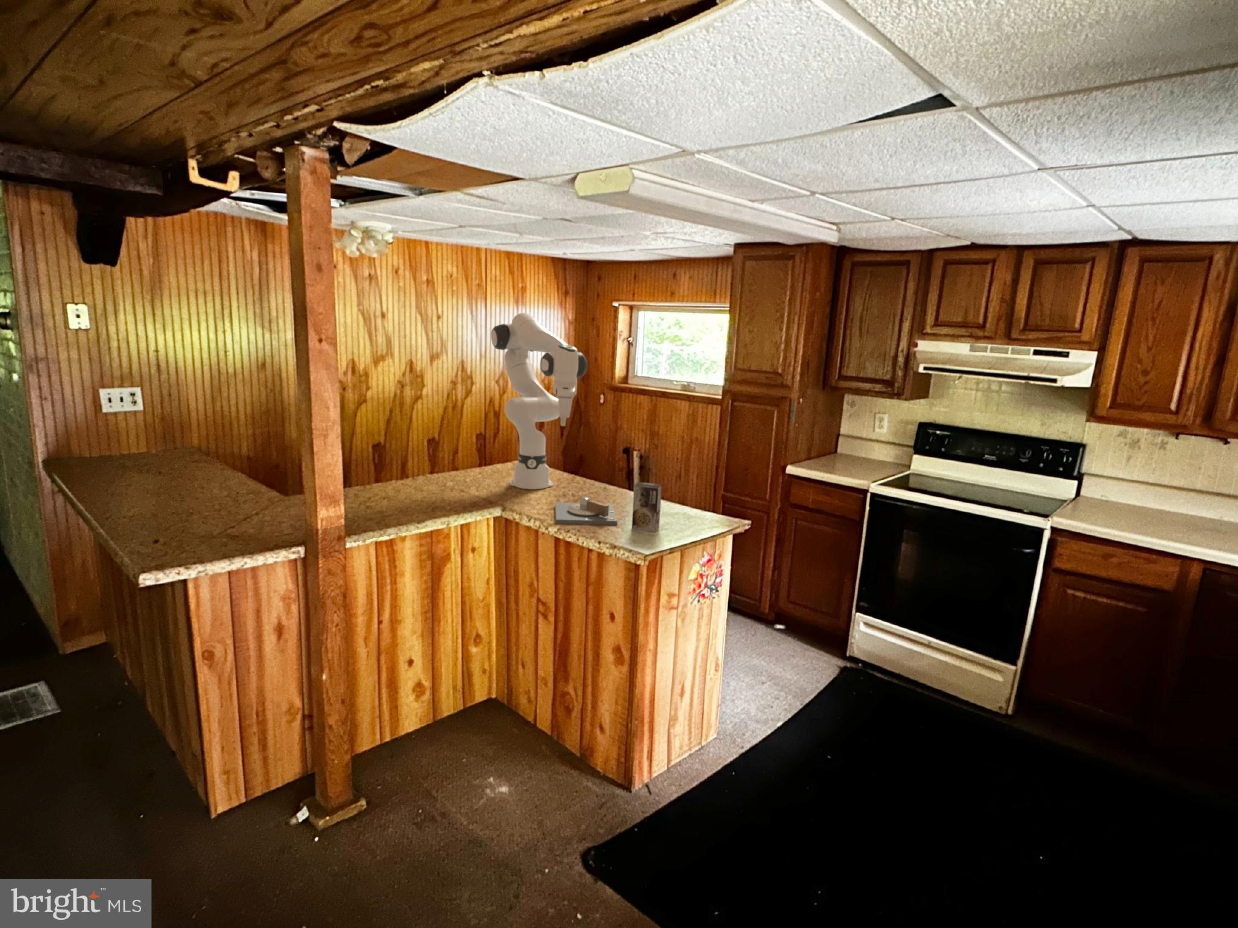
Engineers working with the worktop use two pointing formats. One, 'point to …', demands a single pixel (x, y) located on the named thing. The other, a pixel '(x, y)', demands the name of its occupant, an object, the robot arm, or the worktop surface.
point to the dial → (589, 508)
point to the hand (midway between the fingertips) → (562, 425)
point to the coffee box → (646, 506)
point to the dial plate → (570, 518)
